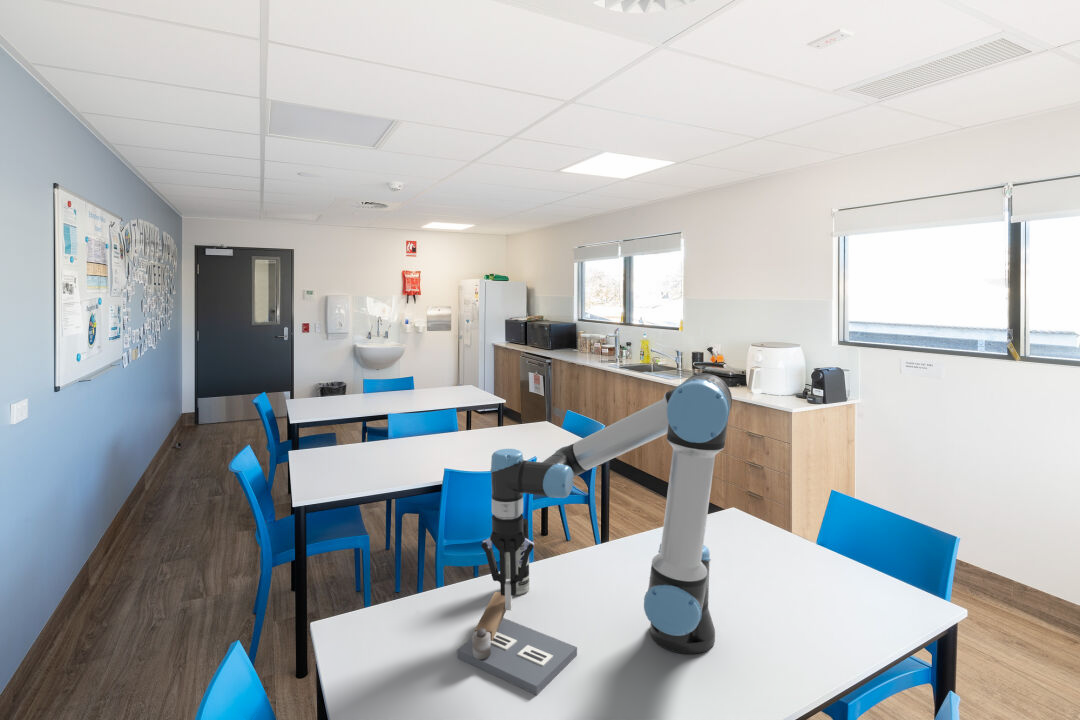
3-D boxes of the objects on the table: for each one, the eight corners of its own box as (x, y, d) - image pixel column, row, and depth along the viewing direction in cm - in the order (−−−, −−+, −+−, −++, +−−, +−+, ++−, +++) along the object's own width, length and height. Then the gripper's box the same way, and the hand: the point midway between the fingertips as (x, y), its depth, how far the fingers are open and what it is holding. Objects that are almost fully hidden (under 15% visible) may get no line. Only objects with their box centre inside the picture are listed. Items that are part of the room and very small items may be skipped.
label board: (576, 655, 130) (576, 645, 130) (536, 695, 117) (536, 684, 117) (501, 624, 143) (501, 615, 143) (457, 657, 130) (457, 647, 129)
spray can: (520, 598, 155) (520, 527, 153) (500, 591, 159) (499, 522, 157) (533, 587, 161) (533, 519, 159) (514, 581, 164) (513, 514, 162)
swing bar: (510, 610, 145) (510, 589, 144) (487, 660, 125) (487, 636, 124) (495, 608, 146) (494, 588, 145) (470, 658, 126) (469, 634, 125)
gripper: (477, 519, 134) (479, 614, 136) (532, 520, 133) (533, 616, 135) (483, 507, 141) (485, 598, 144) (535, 509, 140) (536, 600, 143)
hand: (508, 607), depth 140 cm, fingers closed
